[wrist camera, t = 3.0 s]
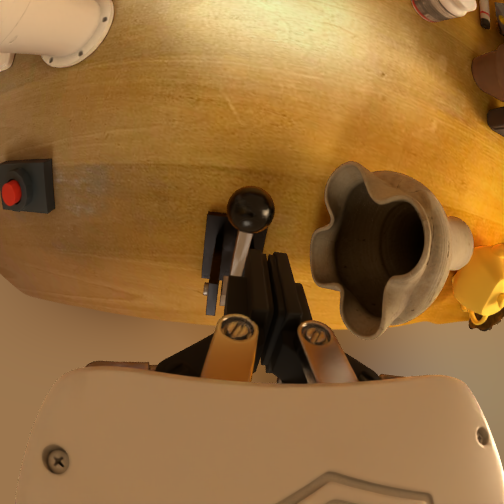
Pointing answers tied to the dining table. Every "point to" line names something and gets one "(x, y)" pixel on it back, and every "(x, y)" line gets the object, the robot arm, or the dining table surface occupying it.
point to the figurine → (487, 320)
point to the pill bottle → (442, 8)
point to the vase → (385, 247)
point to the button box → (30, 184)
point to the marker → (484, 14)
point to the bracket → (221, 253)
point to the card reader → (496, 120)
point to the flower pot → (490, 72)
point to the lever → (246, 225)
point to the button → (11, 192)
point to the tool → (500, 17)
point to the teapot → (481, 282)
